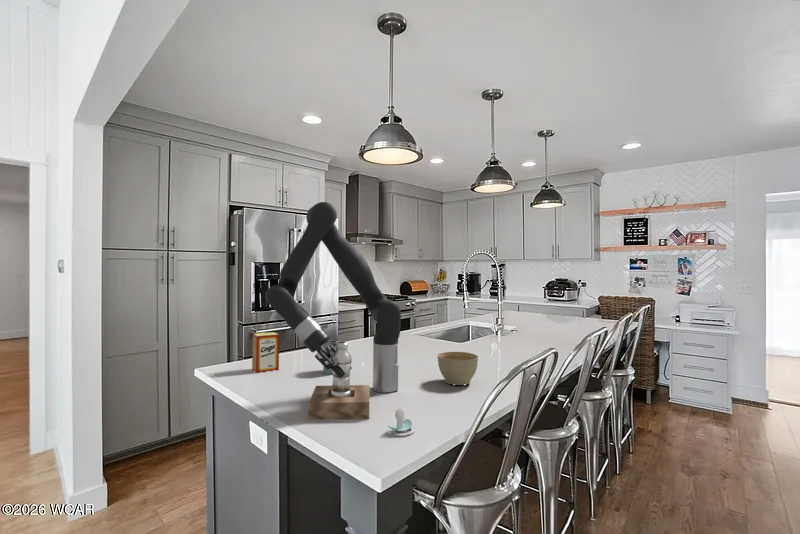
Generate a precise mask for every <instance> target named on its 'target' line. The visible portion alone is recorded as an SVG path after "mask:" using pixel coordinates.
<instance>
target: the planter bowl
mask: <svg viewBox="0 0 800 534" xmlns="http://www.w3.org/2000/svg"><path fill="white" fill-rule="evenodd" d="M478 361H479V355H477V354H476V353H471V352H468V351H467V352H465V351H444V352H443V351H442V352H440V353H438V354H437V363H438V368H439V371H440V374H441V375H442V377H443V378H444V380H445V383H446V382H447V383H450V384H455V385H454V386H456V385H463V386H465V385H464V384H468V383H469V384H470V383H471V380H472V378H473V377H474V376H475V373H476V371H477V368H478ZM447 383H446V384H447ZM450 384H449V385H450ZM469 384H468V385H469Z"/></svg>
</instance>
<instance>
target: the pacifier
mask: <svg viewBox="0 0 800 534" xmlns="http://www.w3.org/2000/svg"><path fill="white" fill-rule="evenodd" d="M394 417H395V419H396V426H394V425H387V427H388V428H389V429H391V430H393V431H394V433H393V434H394V435H395V436H396V437H407V436H411V435H412V434H414V432H415V429H414V428H413V427H412V425H413V422H412V420H410V419H405V411H404V410H403V409H402V408H398V409H396V410H395V414H394ZM410 430H411V431H410ZM407 431H408V432H407ZM404 432H405V433H404Z"/></svg>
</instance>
